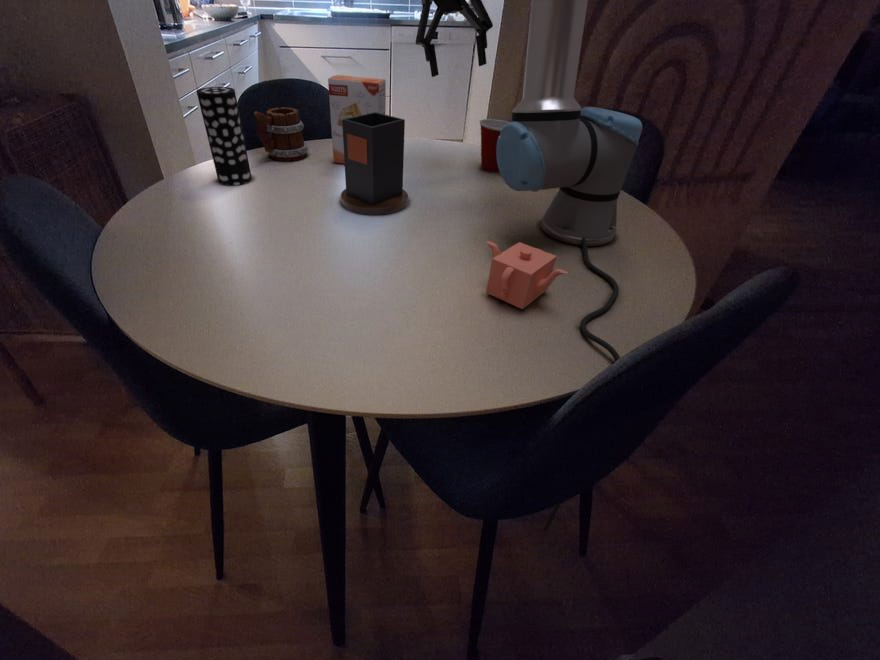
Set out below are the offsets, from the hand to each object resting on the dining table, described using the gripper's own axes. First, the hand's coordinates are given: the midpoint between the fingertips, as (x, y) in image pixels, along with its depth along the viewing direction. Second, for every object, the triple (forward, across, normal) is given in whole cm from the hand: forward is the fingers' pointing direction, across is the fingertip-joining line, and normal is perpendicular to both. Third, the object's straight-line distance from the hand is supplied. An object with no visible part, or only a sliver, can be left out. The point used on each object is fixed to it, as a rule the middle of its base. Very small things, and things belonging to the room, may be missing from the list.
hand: (459, 70), depth 111 cm
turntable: (+23, +33, +13) cm, 42 cm away
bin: (+22, +33, +13) cm, 41 cm away
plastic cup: (+25, -6, 0) cm, 26 cm away
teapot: (+38, +24, +57) cm, 72 cm away
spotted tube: (+12, +62, -10) cm, 64 cm away
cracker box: (+16, +28, -14) cm, 35 cm away
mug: (+10, +47, -24) cm, 54 cm away
